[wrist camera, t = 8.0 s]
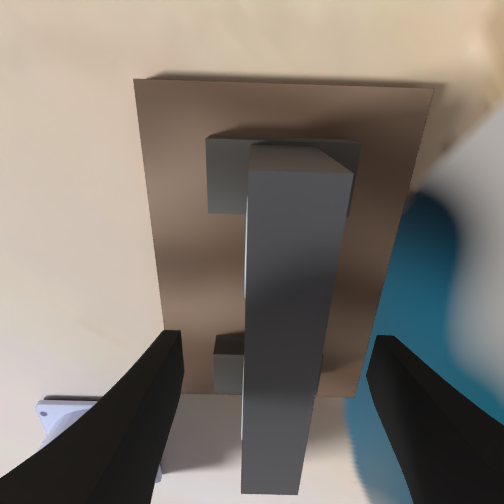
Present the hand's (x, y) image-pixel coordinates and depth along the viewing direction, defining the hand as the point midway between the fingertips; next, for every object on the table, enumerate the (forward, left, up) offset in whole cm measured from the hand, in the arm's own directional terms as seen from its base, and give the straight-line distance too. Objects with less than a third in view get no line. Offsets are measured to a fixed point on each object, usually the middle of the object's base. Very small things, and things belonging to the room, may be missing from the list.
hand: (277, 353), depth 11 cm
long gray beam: (0, 0, -4) cm, 4 cm away
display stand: (0, 0, -6) cm, 6 cm away
